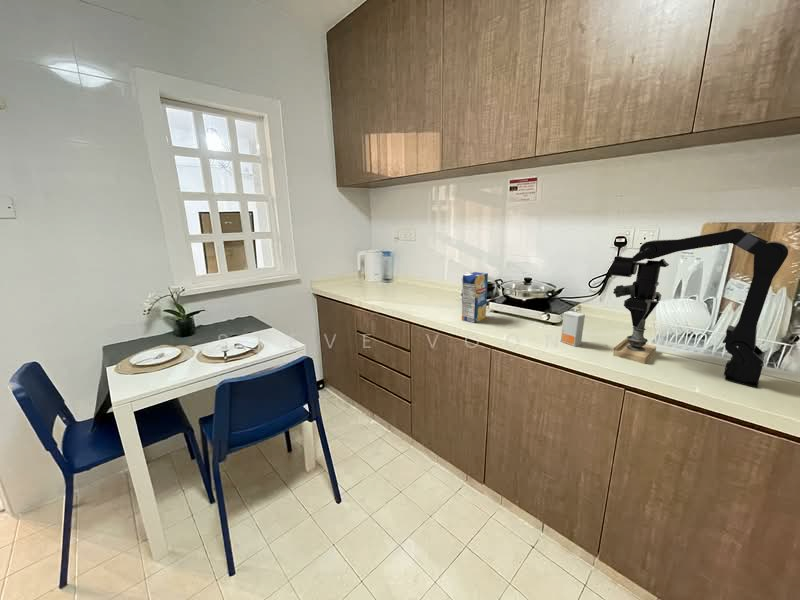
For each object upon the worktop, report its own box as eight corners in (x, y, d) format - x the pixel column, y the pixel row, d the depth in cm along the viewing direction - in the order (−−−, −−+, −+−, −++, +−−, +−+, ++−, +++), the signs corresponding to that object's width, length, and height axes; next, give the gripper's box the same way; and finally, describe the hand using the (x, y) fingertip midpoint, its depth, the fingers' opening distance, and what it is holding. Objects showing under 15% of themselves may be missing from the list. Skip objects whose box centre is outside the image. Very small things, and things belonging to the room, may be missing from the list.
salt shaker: (650, 350, 108) (656, 317, 105) (635, 352, 107) (641, 318, 104) (635, 344, 114) (640, 312, 111) (621, 345, 113) (626, 313, 110)
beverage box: (461, 320, 151) (462, 275, 146) (473, 315, 159) (475, 272, 154) (474, 323, 147) (476, 276, 141) (485, 317, 154) (488, 273, 149)
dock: (655, 351, 112) (656, 344, 111) (644, 363, 103) (645, 355, 103) (625, 344, 119) (626, 337, 118) (612, 355, 110) (614, 347, 109)
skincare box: (559, 341, 123) (563, 312, 120) (566, 339, 125) (570, 310, 122) (574, 346, 118) (578, 316, 115) (581, 344, 120) (585, 314, 117)
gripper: (627, 272, 116) (620, 313, 120) (609, 279, 105) (602, 324, 109) (665, 276, 108) (656, 319, 112) (651, 284, 96) (642, 332, 100)
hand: (638, 323), depth 108 cm, fingers open, 9 cm apart
